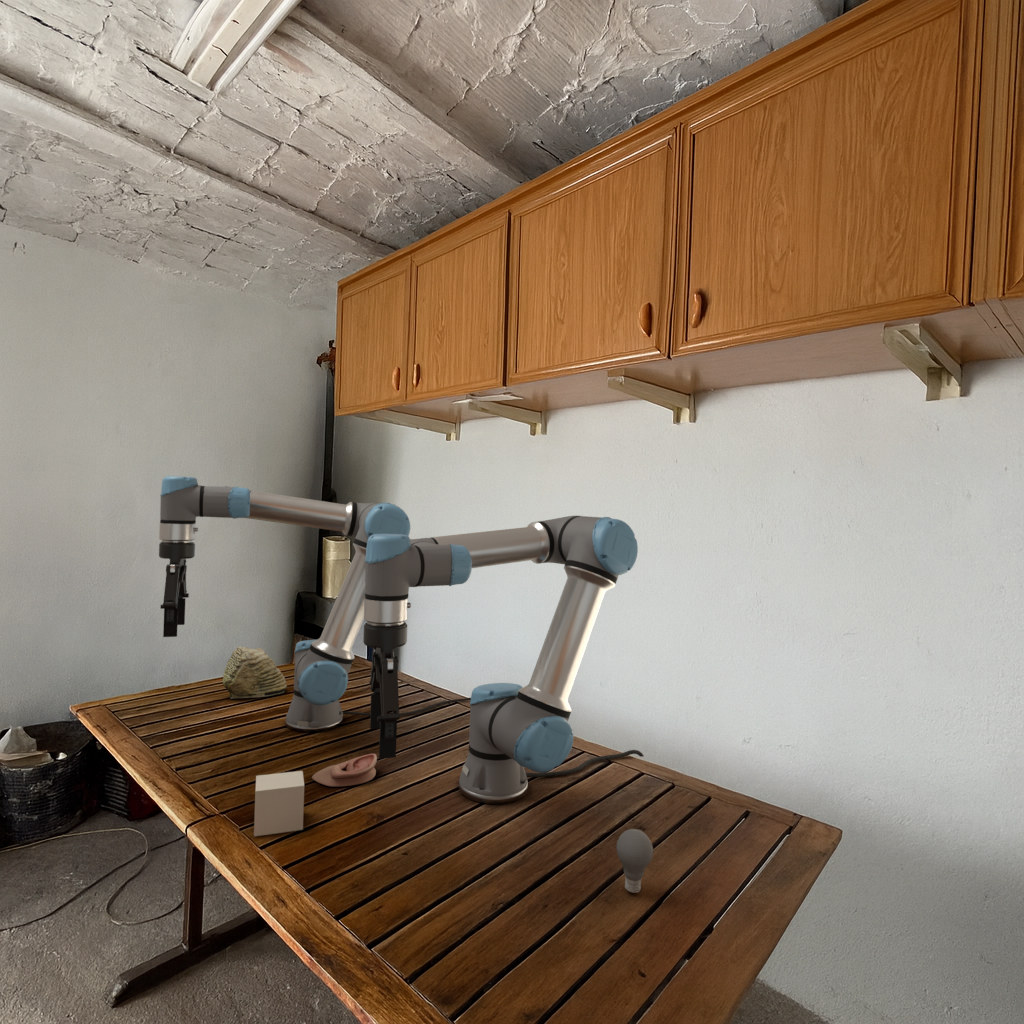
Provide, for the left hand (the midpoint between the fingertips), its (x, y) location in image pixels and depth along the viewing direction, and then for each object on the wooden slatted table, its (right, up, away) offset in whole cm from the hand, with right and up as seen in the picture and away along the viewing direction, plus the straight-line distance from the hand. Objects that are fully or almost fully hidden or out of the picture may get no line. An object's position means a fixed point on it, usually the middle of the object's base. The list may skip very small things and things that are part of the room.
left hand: (174, 630), depth 151 cm
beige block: (+35, -32, -29) cm, 56 cm away
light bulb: (+100, -35, -45) cm, 116 cm away
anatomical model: (+42, -32, -7) cm, 53 cm away
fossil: (0, -29, +47) cm, 56 cm away
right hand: (+57, -12, -39) cm, 71 cm away
